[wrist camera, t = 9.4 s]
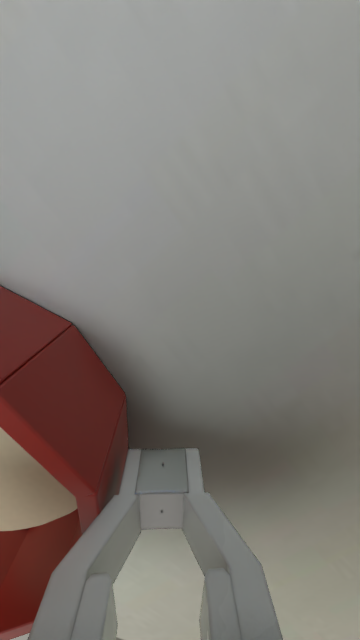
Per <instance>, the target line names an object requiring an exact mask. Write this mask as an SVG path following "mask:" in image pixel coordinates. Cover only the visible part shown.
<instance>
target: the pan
mask: <svg viewBox="0 0 360 640" xmlns="http://www.w3.org/2000/svg"><path fill="white" fill-rule="evenodd" d="M128 450H129V448H128V426H127V405H126V396H125V393H124V391H123V390H122V389H121V387H120V386H119V385H118V383H117V382H116V381H115V379H114V378H113V377H112V375H111V374H110V373H109V371H108V370H107V369H106V367H105V366H104V365H103V363H102V362H101V361H100V359H99V358H98V357H97V355H96V354H95V353H94V351H93V350H92V349H91V347H90V346H89V345H88V343H87V342H86V340H85V339H84V338H83V336H82V335H81V334H80V332H79V331H78V330H77V328H76V327H75V326H74V325H72V323H71V322H69V321H67V320H65V319H63V318H61V317H59V316H57V315H55V314H53V313H51V312H49V311H48V310H46V309H44V308H42V307H40V306H38V305H36V304H34V303H32V302H30V301H28V300H26V299H24V298H23V297H21V296H19V295H17V294H15V293H13V292H11V291H9V290H7V289H5V288H3V287H1V286H0V640H10V639H13V638H16V637H19V636H21V635H25V634H27V633H30V631H31V629H32V626H33V623H34V620H35V618H36V615H37V612H38V609H39V607H40V604H41V601H42V599H43V596H44V593H45V590H46V588H47V585H48V582H49V579H50V577H51V574H52V572H53V571H54V570H55V568H56V567H57V566H58V565H59V563H60V562H61V561H62V560H63V558H64V557H65V556H66V555H67V553H68V552H69V551H70V550H71V548H72V547H73V546H74V545H75V543H76V542H77V541H78V539H79V538H80V537H81V536H82V534H83V533H84V532H85V531H86V529H87V528H88V527H89V526H90V524H91V523H92V522H93V521H94V519H95V518H96V517H97V516H98V515H99V514H100V512H101V511H102V509H103V508H104V507H105V506H106V504H107V503H108V502H109V501H110V499H111V498H112V497H113V496H114V495H118V494H119V489H120V484H121V479H122V475H123V470H124V465H125V460H126V456H127V452H128Z"/></svg>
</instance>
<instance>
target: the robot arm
mask: <svg viewBox="0 0 360 640" xmlns="http://www.w3.org/2000/svg"><path fill="white" fill-rule="evenodd" d="M161 528H182V531H183V533H184V535H185V537H186V539H187V541H188V543H189V545H190V547H191V549H192V551H193V553H194V555H195V558H196V560H197V562H198V564H199V566H200V568H201V570H202V572H203V574H204V576H205V580H204V588H203V595H202V603H201V611H200V619H199V623H200V637H201V640H283V638H282V634H281V631H280V627H279V624H278V620H277V617H276V613H275V610H274V606H273V603H272V599H271V596H270V592H269V589H268V585H267V581H266V578H265V574H264V571H263V567H262V565H261V563H260V562H259V561H258V559H257V558H256V557H255V555H254V554H253V552H252V551H251V550H250V548H249V547H248V546H247V544H246V543H245V541H244V540H243V539H242V537H241V536H240V535H239V533H238V532H237V531H236V529H235V528H234V526H233V525H232V524H231V522H230V521H229V520H228V518H227V517H226V515H225V514H224V513H223V511H222V510H221V509H220V507H219V506H218V505H217V503H216V502H215V500H214V499H213V498H212V496H211V495H210V494H209V493H205V491H204V484H203V476H202V469H201V462H200V455H199V450H198V448H170V449H129V450H128V452H127V456H126V460H125V465H124V470H123V475H122V479H121V484H120V489H119V494H118V495H114V496H113V497H112V498H111V499H110V501H109V502H108V503H107V504H106V506H105V507H104V508H103V509H102V511H101V512H100V514H99V515H98V516H97V517H96V518H95V519H94V521H93V522H92V523H91V524H90V526H89V527H88V528H87V529H86V531H85V532H84V533H83V534H82V536H81V537H80V538H79V539H78V541H77V542H76V543H75V545H74V546H73V547H72V548H71V550H70V551H69V552H68V553H67V555H66V556H65V557H64V558H63V560H62V561H61V562H60V563H59V565H58V566H57V567H56V568H55V570H54V571H53V572H52V574H51V577H50V579H49V582H48V585H47V588H46V590H45V593H44V596H43V599H42V601H41V604H40V607H39V609H38V612H37V615H36V618H35V620H34V623H33V626H32V629H31V631H30V634H29V637H28V640H116V634H117V626H118V623H117V615H116V608H115V600H114V592H113V584H114V582H115V580H116V578H117V576H118V574H119V572H120V570H121V569H122V567H123V565H124V563H125V561H126V559H127V557H128V555H129V554H130V552H131V550H132V548H133V546H134V544H135V542H136V540H137V539H138V537H139V535H140V533H141V530H145V529H161Z"/></svg>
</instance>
